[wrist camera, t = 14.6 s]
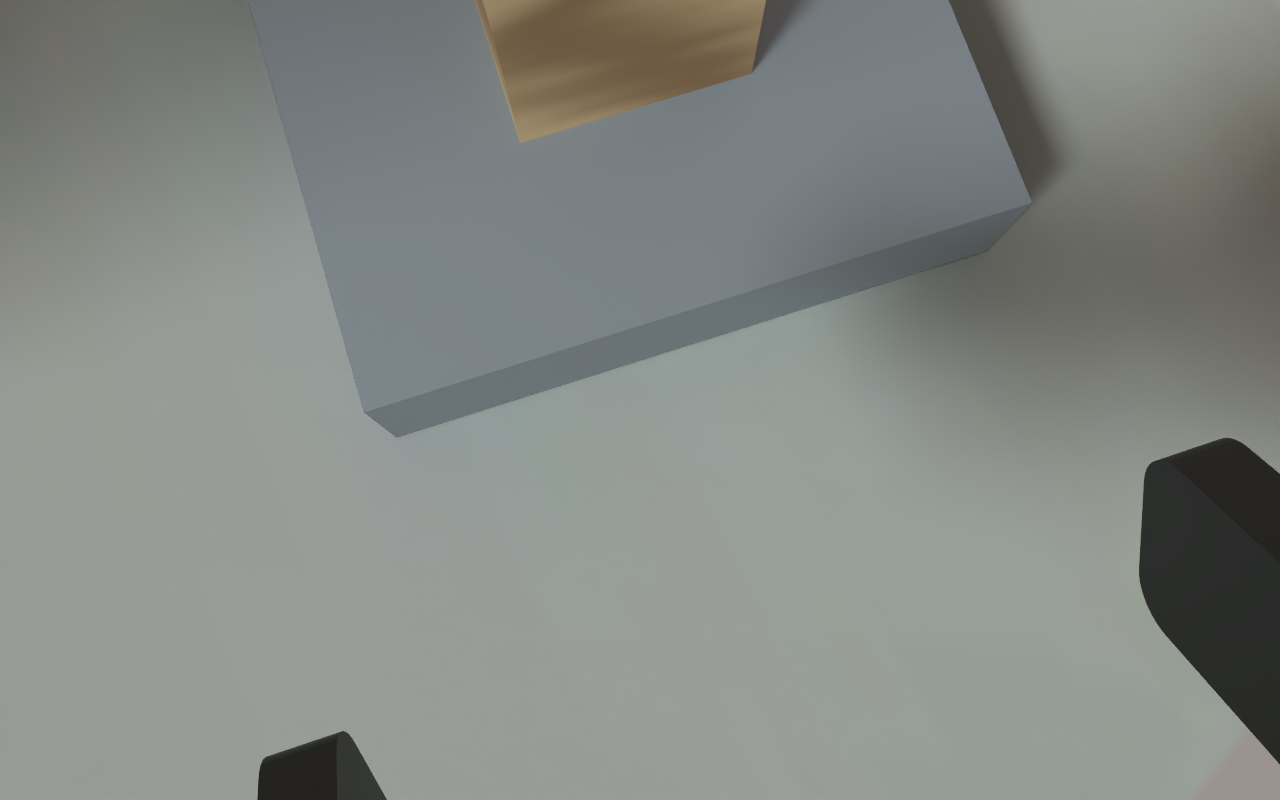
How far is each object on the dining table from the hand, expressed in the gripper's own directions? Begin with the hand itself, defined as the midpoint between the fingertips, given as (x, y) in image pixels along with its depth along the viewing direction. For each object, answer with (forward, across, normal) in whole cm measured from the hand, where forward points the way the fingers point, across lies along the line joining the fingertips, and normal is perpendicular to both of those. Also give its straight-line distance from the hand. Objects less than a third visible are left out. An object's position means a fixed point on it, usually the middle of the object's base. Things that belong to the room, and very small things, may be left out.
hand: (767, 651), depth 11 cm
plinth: (+19, -2, 0) cm, 19 cm away
